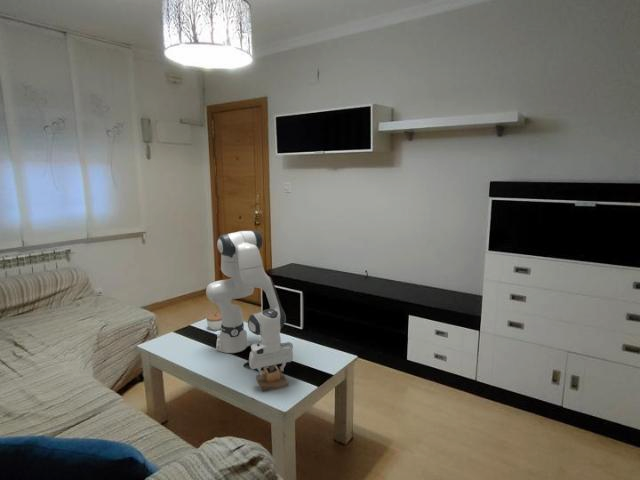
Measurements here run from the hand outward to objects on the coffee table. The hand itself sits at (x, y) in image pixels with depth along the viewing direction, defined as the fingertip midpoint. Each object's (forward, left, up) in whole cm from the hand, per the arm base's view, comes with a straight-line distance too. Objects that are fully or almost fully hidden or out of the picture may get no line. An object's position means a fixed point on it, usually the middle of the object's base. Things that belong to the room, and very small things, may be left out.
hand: (271, 373), depth 181 cm
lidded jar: (-72, -15, -5) cm, 74 cm away
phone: (-16, -2, -5) cm, 17 cm away
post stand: (0, 0, -5) cm, 5 cm away
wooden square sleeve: (0, 0, -3) cm, 3 cm away
